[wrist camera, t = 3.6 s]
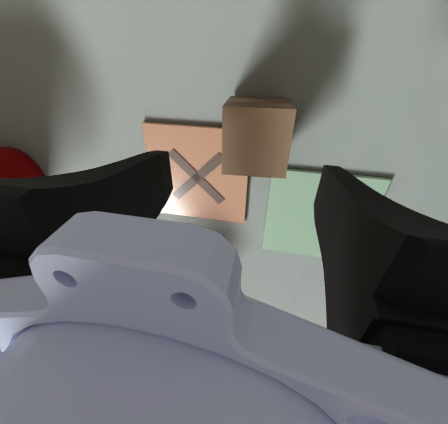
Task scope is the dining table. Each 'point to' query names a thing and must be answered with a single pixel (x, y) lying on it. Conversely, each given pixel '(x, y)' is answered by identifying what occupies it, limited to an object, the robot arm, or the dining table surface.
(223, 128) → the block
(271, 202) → the tile
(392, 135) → the dining table surface
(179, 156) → the tile
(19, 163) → the plastic cup
